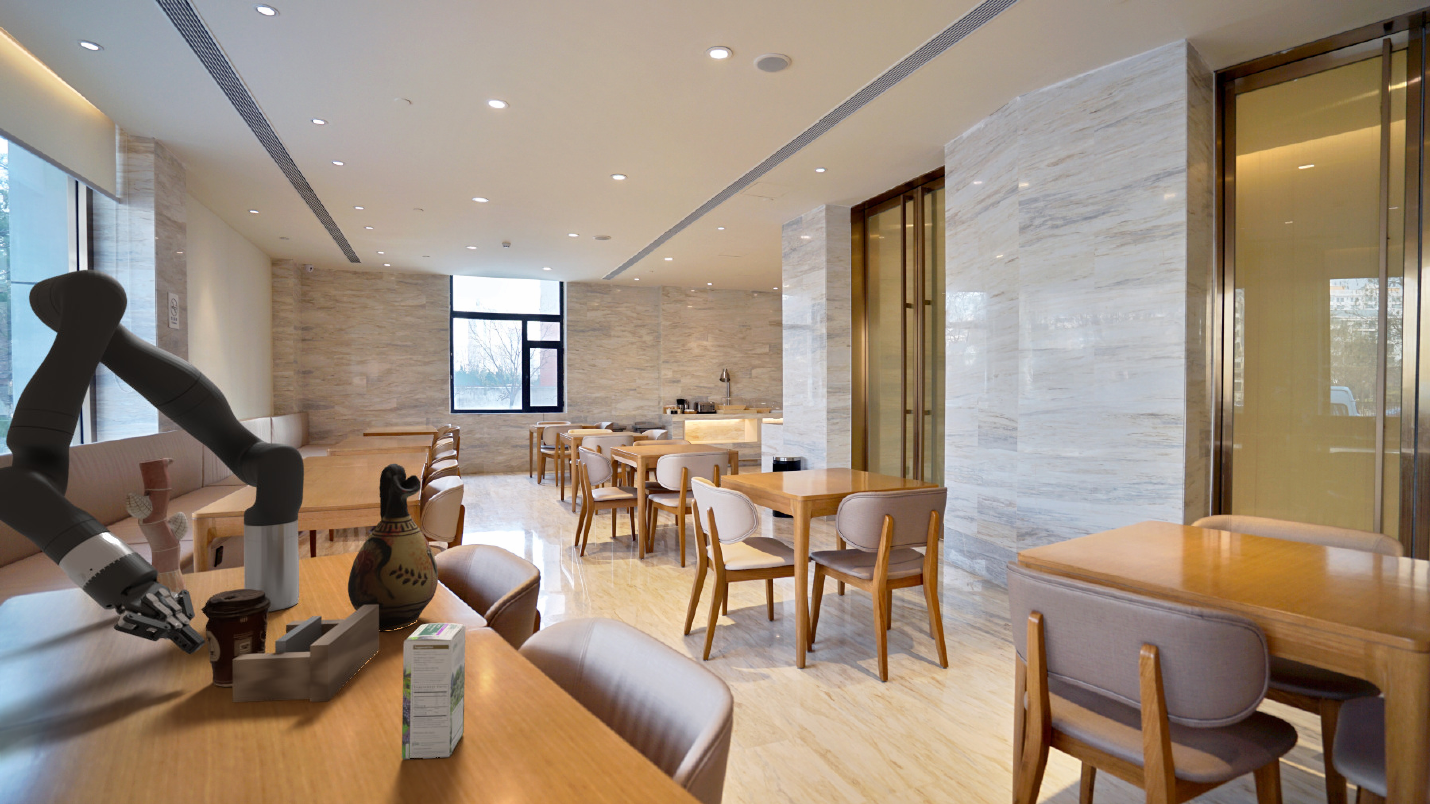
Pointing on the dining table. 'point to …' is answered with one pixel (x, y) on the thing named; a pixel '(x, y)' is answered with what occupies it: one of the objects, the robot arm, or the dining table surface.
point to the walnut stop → (310, 662)
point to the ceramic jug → (394, 558)
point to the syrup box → (433, 690)
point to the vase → (160, 522)
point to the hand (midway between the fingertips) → (198, 648)
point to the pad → (300, 636)
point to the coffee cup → (235, 629)
